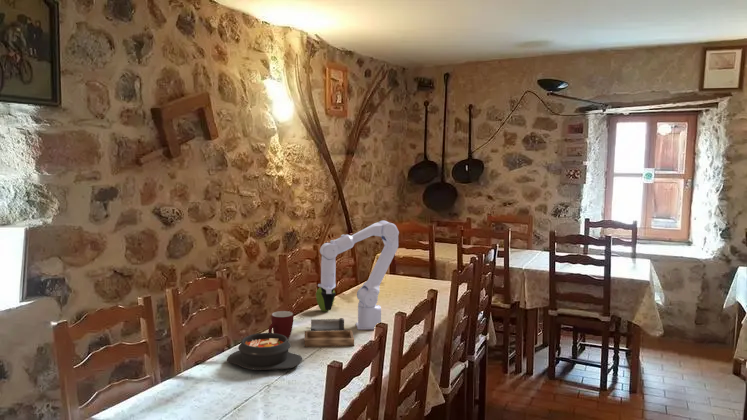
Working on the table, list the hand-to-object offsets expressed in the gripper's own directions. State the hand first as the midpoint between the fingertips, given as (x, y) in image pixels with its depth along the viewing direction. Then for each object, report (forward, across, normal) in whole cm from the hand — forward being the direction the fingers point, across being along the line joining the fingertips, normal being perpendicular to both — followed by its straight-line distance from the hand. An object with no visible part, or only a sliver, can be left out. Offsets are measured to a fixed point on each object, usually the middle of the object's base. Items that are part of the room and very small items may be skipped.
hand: (327, 307), depth 212 cm
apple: (+9, -26, 0) cm, 28 cm away
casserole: (+10, +34, -22) cm, 42 cm away
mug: (+10, +12, -18) cm, 24 cm away
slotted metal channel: (+9, 0, 0) cm, 9 cm away
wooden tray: (+9, +14, 0) cm, 17 cm away
